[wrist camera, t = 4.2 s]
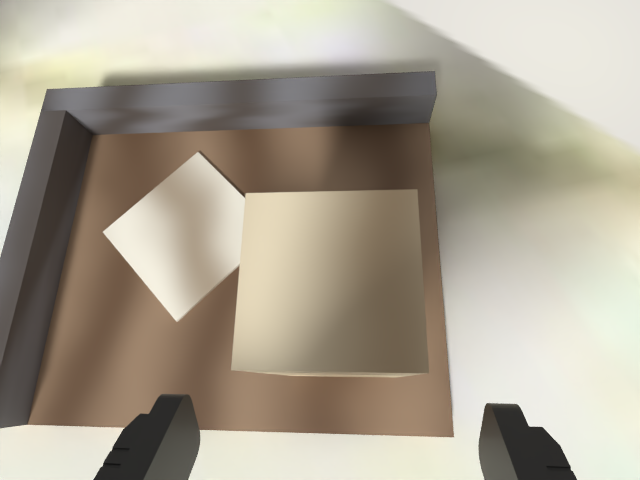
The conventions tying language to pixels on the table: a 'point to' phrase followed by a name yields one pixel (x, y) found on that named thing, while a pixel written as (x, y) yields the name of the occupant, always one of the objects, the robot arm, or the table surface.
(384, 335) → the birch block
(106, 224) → the tray
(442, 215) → the table surface
